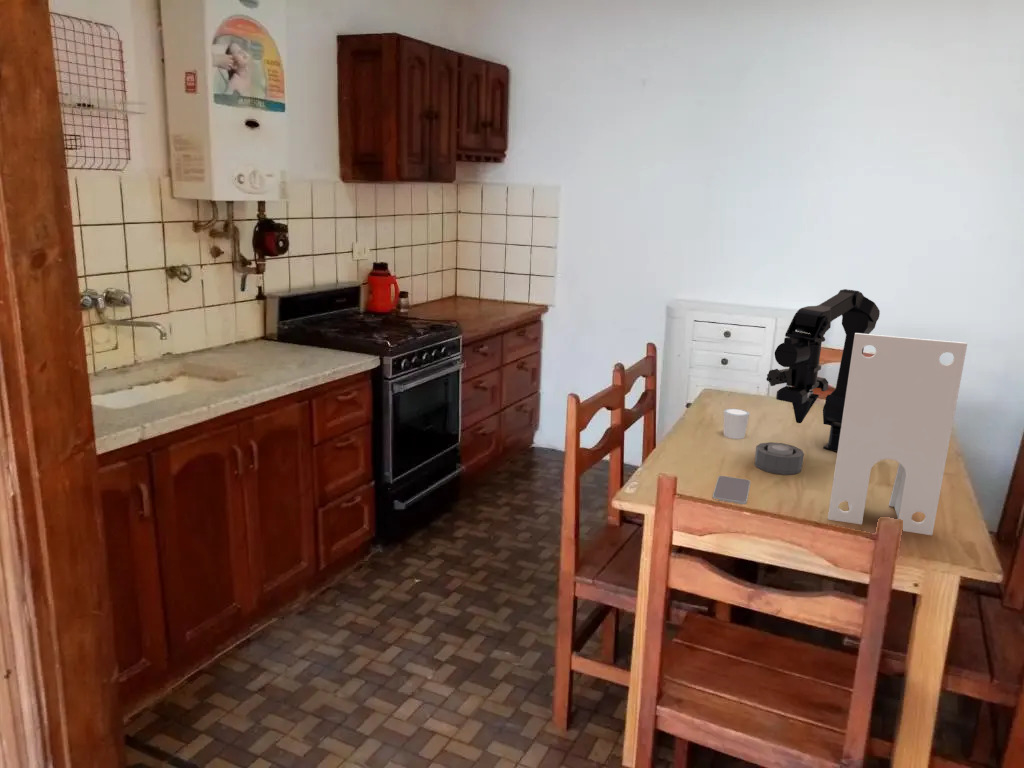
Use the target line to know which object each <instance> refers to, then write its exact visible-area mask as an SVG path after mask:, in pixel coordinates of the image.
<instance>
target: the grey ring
mask: <svg viewBox="0 0 1024 768" xmlns="http://www.w3.org/2000/svg"><path fill="white" fill-rule="evenodd" d="M770 444H782V445H787V446H790V447H792V448H793V455H779V454H774V453H770V452H768V451H767V450H768V445H770ZM804 457H805V453H804V451H803V449H801V448H800V447H797V446H795V445H791V444H789V443H788V444H786V443H782V442H771V441H769V442H762V443H761V442H760V443H759V444H757V445H755V452H754V466H755V467H756V468H757V469H759V470H761V471H763V472H766V473H770V474H774V475H781V476H782V475H783V476H790V475H791V476H793V475H797V474H799V473H801V471H802V468H803V463H804Z"/></svg>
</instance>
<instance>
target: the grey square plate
mask: <svg viewBox="0 0 1024 768" xmlns="http://www.w3.org/2000/svg"><path fill="white" fill-rule="evenodd" d="M750 485H751V480H749V479H745V478H739V477H732V476H726V475H719V476H718V478H717V480H716V483H715V488H714V490H713V494H712V499H713V498H715V499H719V500H717V501H718V502H724V503H731V502H734V503H733V504H737V503H738V504H739V505H746V504H747V503H748V499H747V498H749V491H750ZM723 500H724V501H723ZM726 501H727V502H726Z"/></svg>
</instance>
